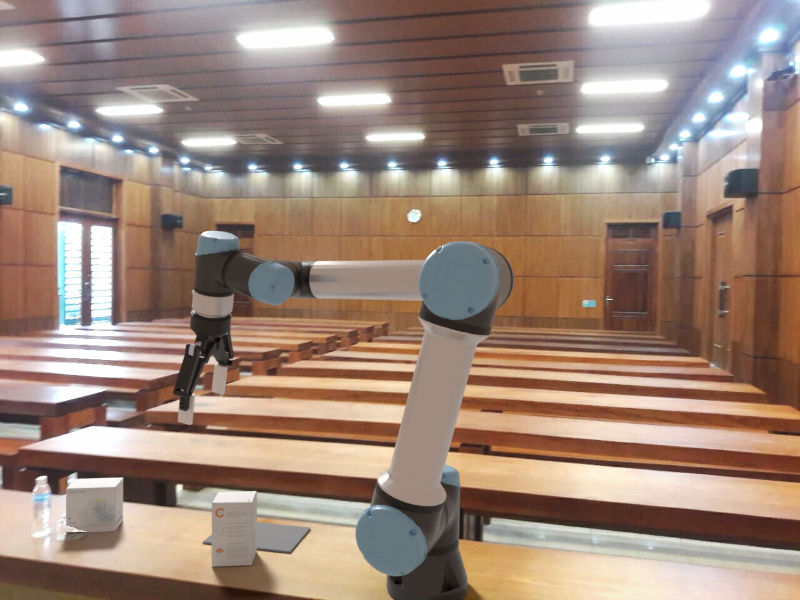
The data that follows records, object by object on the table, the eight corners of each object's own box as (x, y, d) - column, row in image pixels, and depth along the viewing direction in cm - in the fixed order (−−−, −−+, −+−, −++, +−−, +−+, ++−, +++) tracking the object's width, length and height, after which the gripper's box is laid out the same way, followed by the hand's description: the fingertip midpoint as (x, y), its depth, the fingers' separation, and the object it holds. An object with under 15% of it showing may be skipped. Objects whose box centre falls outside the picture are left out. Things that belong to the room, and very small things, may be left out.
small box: (256, 551, 123) (257, 490, 122) (252, 566, 116) (253, 501, 116) (217, 552, 122) (218, 491, 121) (210, 567, 115) (211, 502, 115)
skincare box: (64, 534, 129) (65, 487, 129) (76, 522, 136) (76, 478, 135) (115, 532, 131) (115, 485, 131) (123, 520, 137) (124, 476, 137)
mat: (310, 529, 134) (310, 527, 134) (290, 553, 122) (290, 551, 122) (230, 520, 138) (230, 519, 138) (202, 543, 126) (202, 541, 126)
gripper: (223, 289, 125) (214, 377, 132) (157, 327, 102) (150, 431, 108) (256, 297, 124) (245, 385, 131) (197, 337, 101) (187, 442, 107)
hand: (202, 406), depth 120 cm, fingers open, 13 cm apart
